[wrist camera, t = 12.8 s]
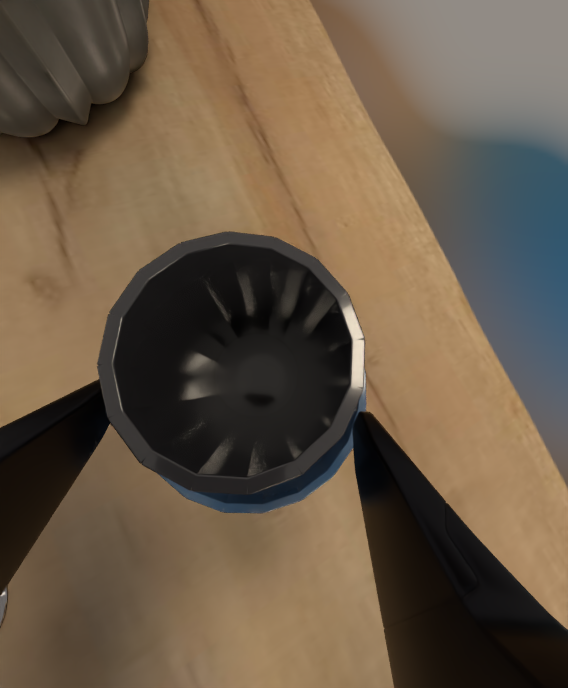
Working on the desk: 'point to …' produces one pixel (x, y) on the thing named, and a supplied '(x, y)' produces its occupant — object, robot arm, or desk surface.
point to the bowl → (286, 490)
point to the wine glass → (3, 605)
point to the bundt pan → (65, 59)
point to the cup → (232, 363)
